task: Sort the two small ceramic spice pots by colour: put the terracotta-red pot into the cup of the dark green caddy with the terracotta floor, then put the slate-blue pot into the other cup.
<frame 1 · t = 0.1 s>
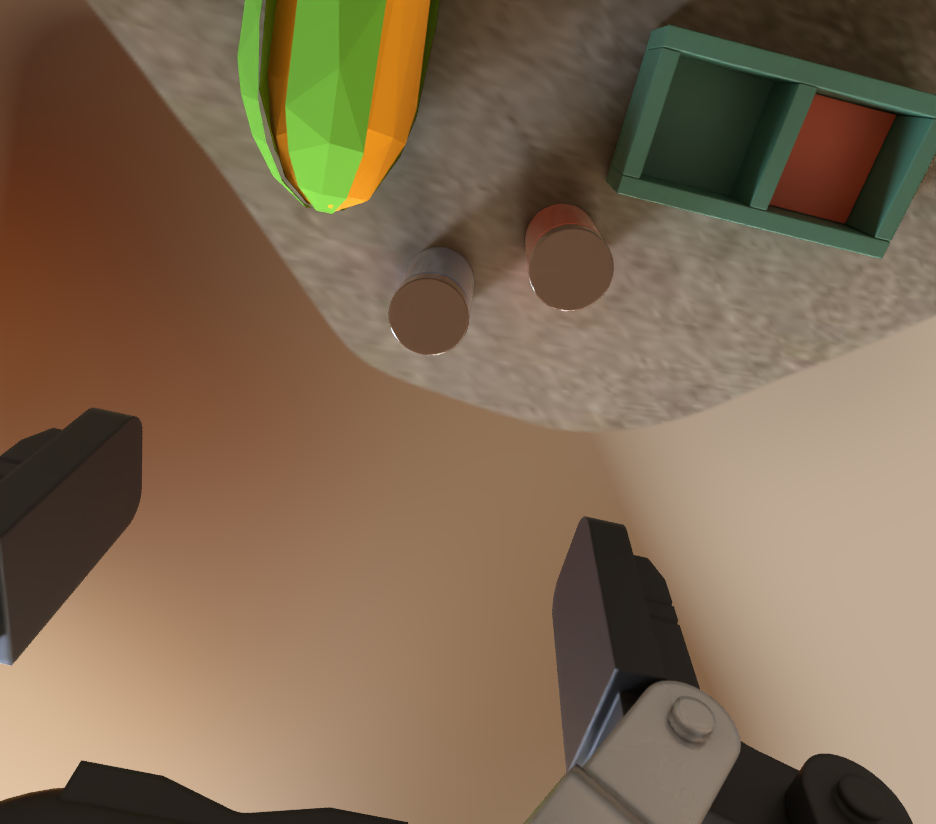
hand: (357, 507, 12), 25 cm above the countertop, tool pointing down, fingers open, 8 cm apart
red pot: (560, 240, 34), on the countertop
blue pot: (439, 281, 35), on the countertop
caddy: (754, 141, 32), on the countertop
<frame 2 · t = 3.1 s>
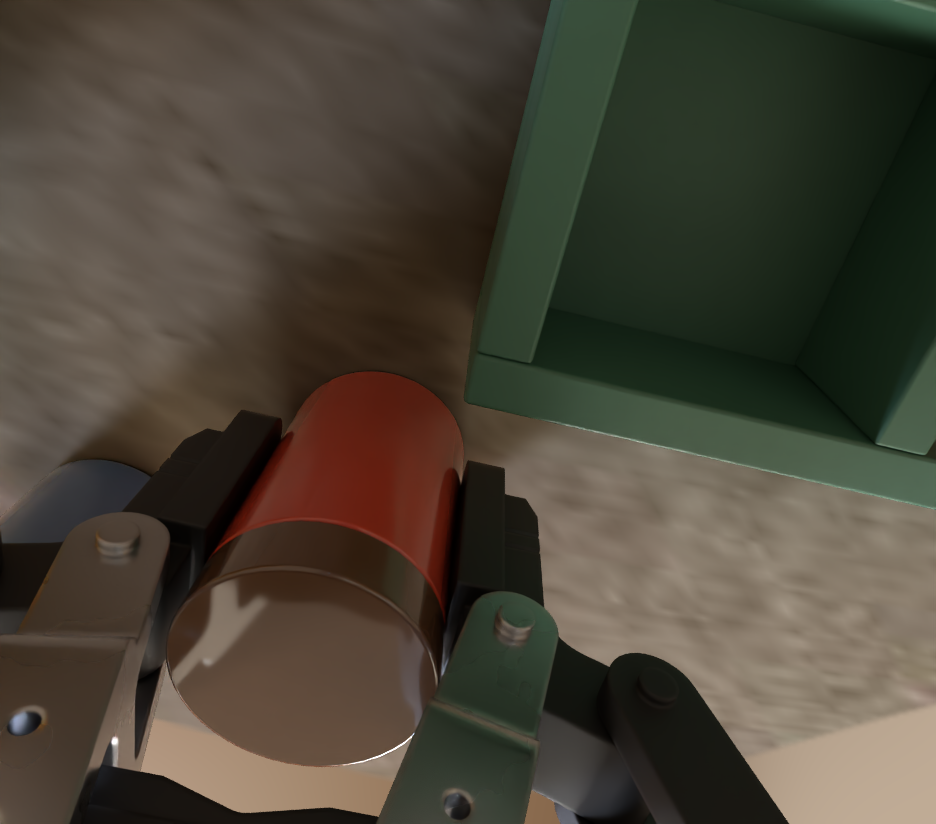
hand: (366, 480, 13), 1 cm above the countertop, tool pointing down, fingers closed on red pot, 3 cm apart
red pot: (378, 449, 14), on the countertop, touching gripper
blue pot: (115, 526, 15), on the countertop
caddy: (864, 226, 12), on the countertop
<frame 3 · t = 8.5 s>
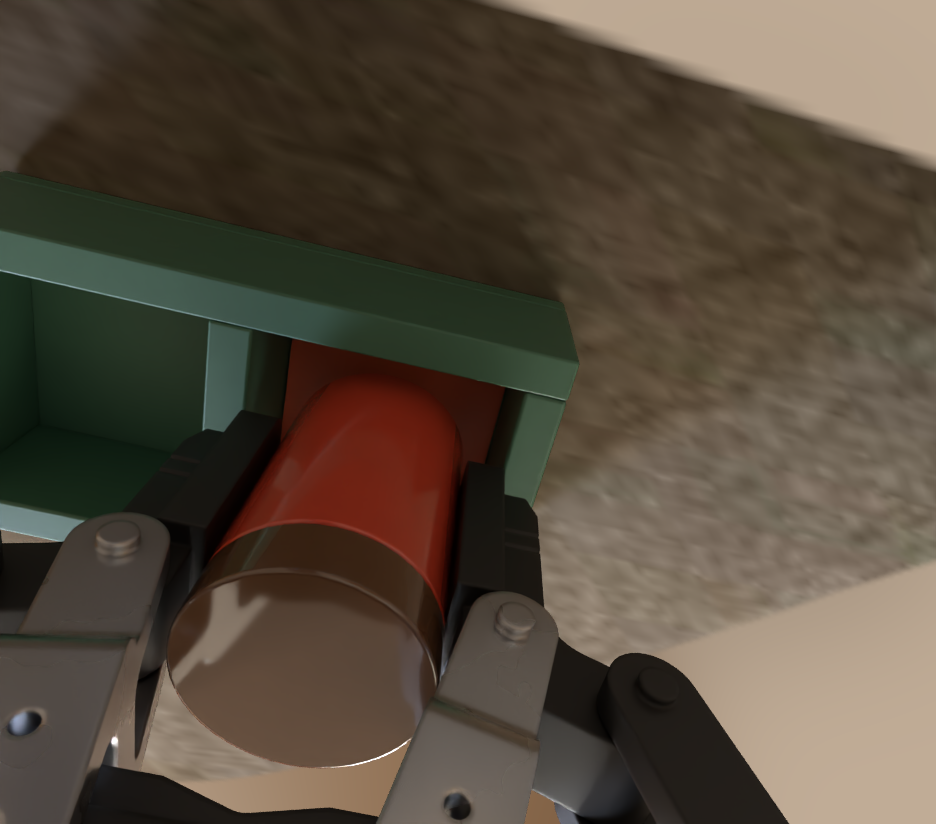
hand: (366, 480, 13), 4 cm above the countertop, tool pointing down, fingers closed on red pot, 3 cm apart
red pot: (377, 451, 14), point 3 cm above the countertop, touching gripper
caddy: (277, 372, 16), on the countertop
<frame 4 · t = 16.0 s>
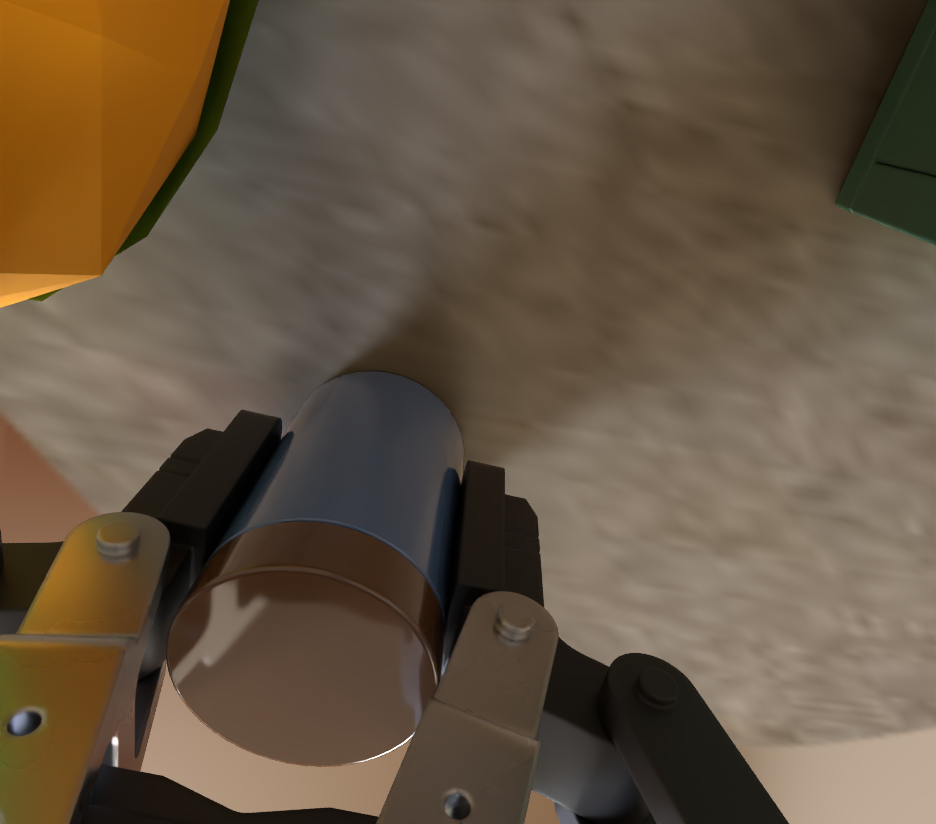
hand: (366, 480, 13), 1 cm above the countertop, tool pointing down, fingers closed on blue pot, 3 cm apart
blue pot: (378, 449, 14), on the countertop, touching gripper
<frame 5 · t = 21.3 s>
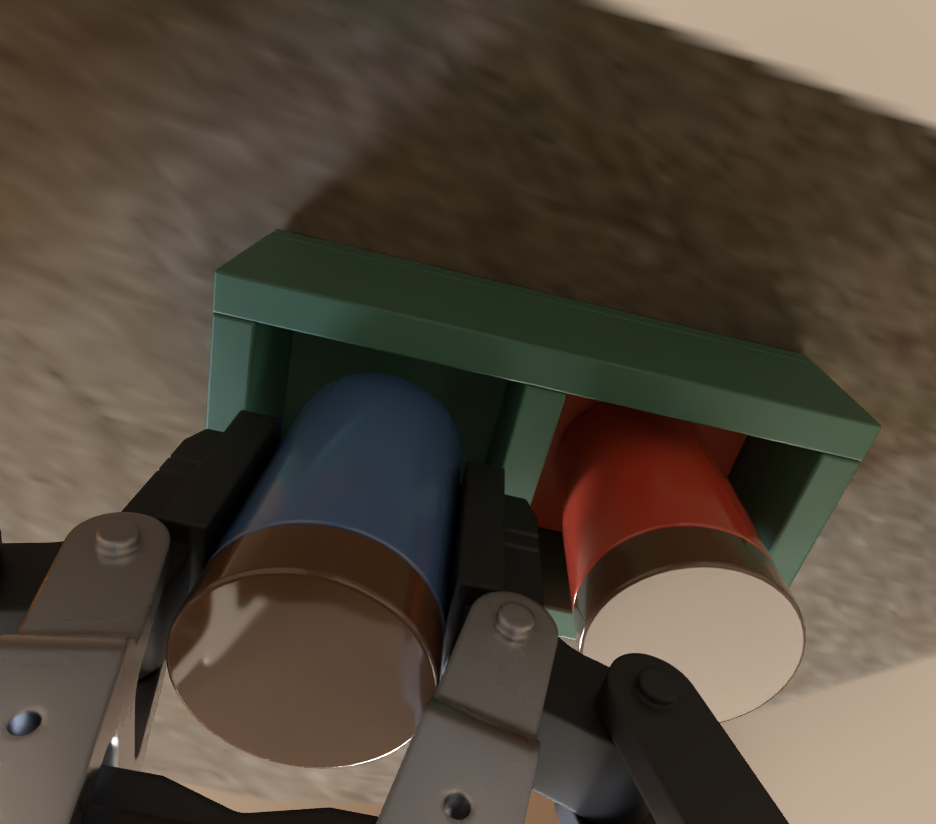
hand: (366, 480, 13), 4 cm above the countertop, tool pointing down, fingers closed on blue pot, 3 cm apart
red pot: (629, 462, 16), point 1 cm above the countertop, touching caddy
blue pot: (377, 451, 14), point 3 cm above the countertop, touching gripper
caddy: (510, 418, 17), on the countertop
when the fingers open (5 cm above the countertop, at t = 26.0 s): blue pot drops 3 cm, resting on caddy.
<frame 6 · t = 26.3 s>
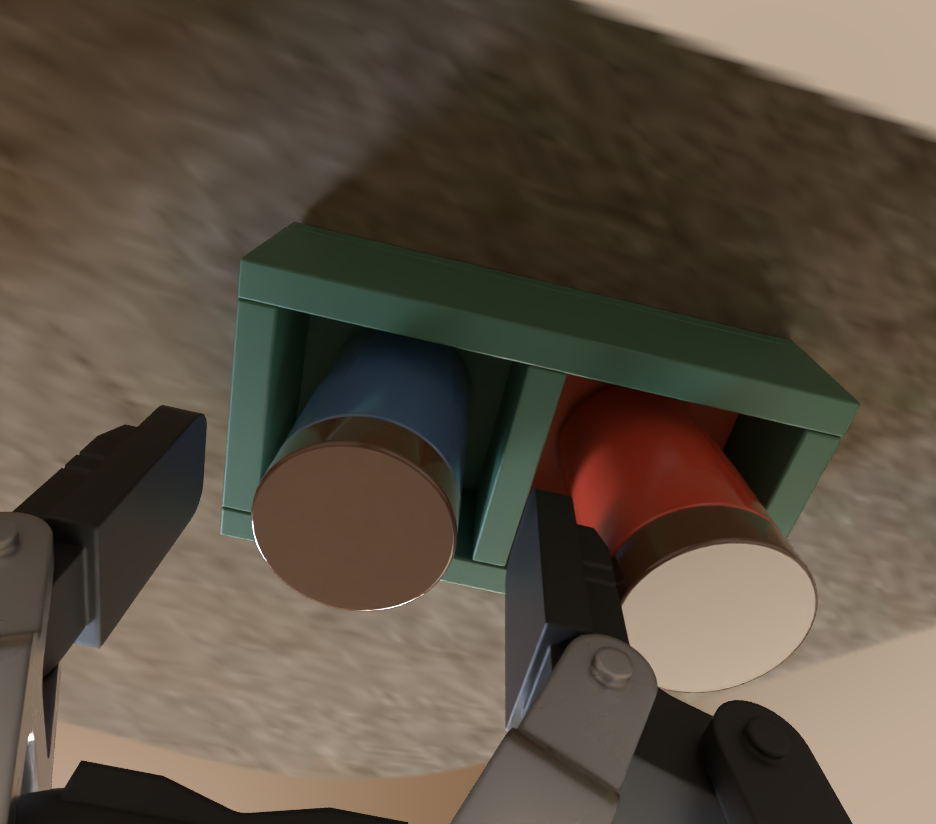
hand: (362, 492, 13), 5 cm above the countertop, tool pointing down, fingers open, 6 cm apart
red pot: (628, 446, 17), point 1 cm above the countertop, tilted 5°, touching caddy, gripper
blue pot: (400, 389, 17), point 1 cm above the countertop, touching caddy
caddy: (514, 402, 18), on the countertop
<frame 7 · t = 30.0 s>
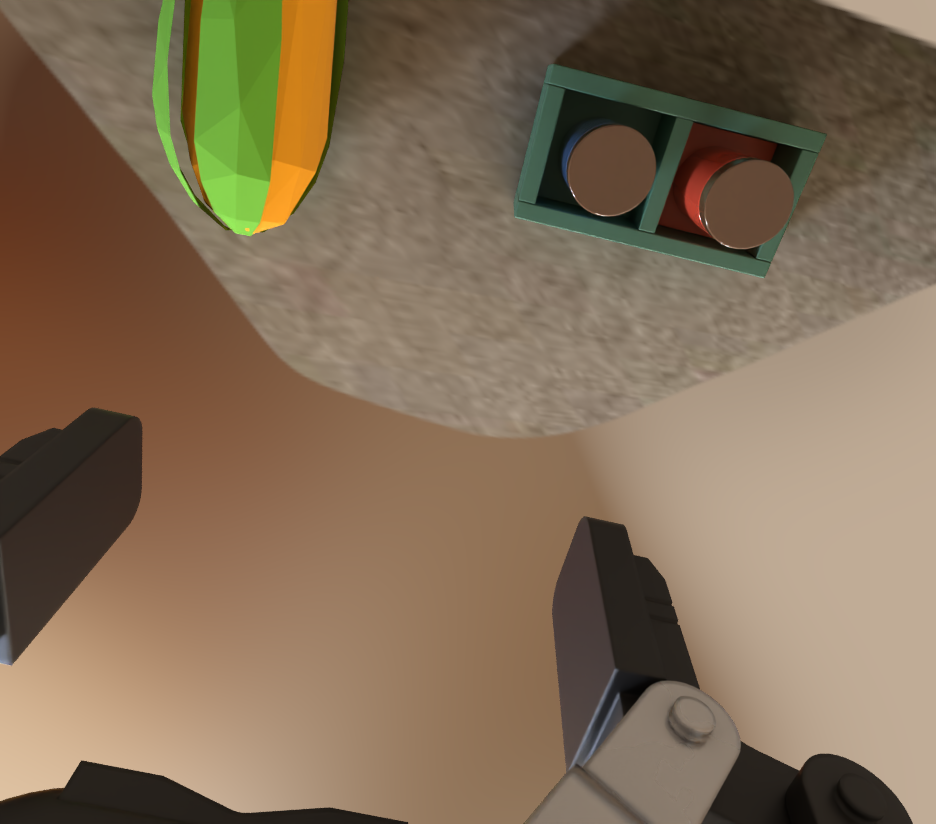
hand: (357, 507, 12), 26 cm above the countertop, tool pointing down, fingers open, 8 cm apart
corn: (281, 3, 32), on the countertop
red pot: (709, 184, 33), point 1 cm above the countertop, touching caddy
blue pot: (594, 156, 33), point 1 cm above the countertop, touching caddy
caddy: (650, 167, 34), on the countertop
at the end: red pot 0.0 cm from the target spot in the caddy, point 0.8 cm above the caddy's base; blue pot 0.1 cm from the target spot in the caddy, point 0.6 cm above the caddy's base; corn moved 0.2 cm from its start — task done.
